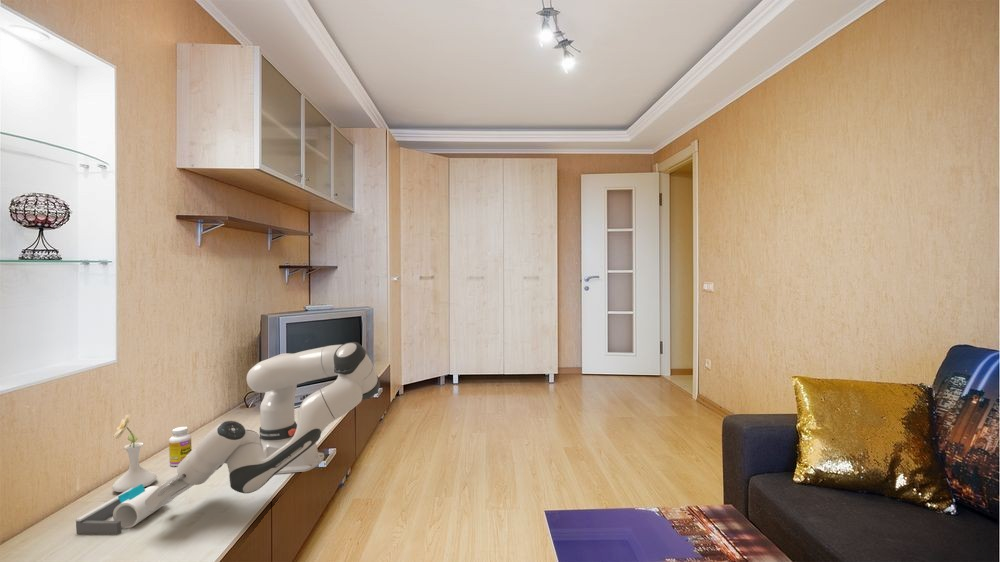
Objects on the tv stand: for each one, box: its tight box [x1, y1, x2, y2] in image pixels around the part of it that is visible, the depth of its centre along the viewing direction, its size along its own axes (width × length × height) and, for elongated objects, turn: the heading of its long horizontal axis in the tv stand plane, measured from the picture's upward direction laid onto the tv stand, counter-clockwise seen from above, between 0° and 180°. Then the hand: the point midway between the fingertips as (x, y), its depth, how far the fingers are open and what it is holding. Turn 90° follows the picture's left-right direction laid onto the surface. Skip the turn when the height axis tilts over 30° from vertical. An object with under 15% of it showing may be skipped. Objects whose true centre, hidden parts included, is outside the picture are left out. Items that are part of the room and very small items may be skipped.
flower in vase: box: [111, 413, 158, 493], centre depth 145 cm, size 13×11×25 cm
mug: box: [110, 484, 163, 529], centre depth 128 cm, size 12×9×12 cm
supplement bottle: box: [168, 426, 193, 467], centre depth 163 cm, size 7×7×13 cm
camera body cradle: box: [75, 488, 132, 535], centre depth 128 cm, size 12×17×4 cm, turn 177°
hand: (165, 501), depth 127 cm, fingers closed
